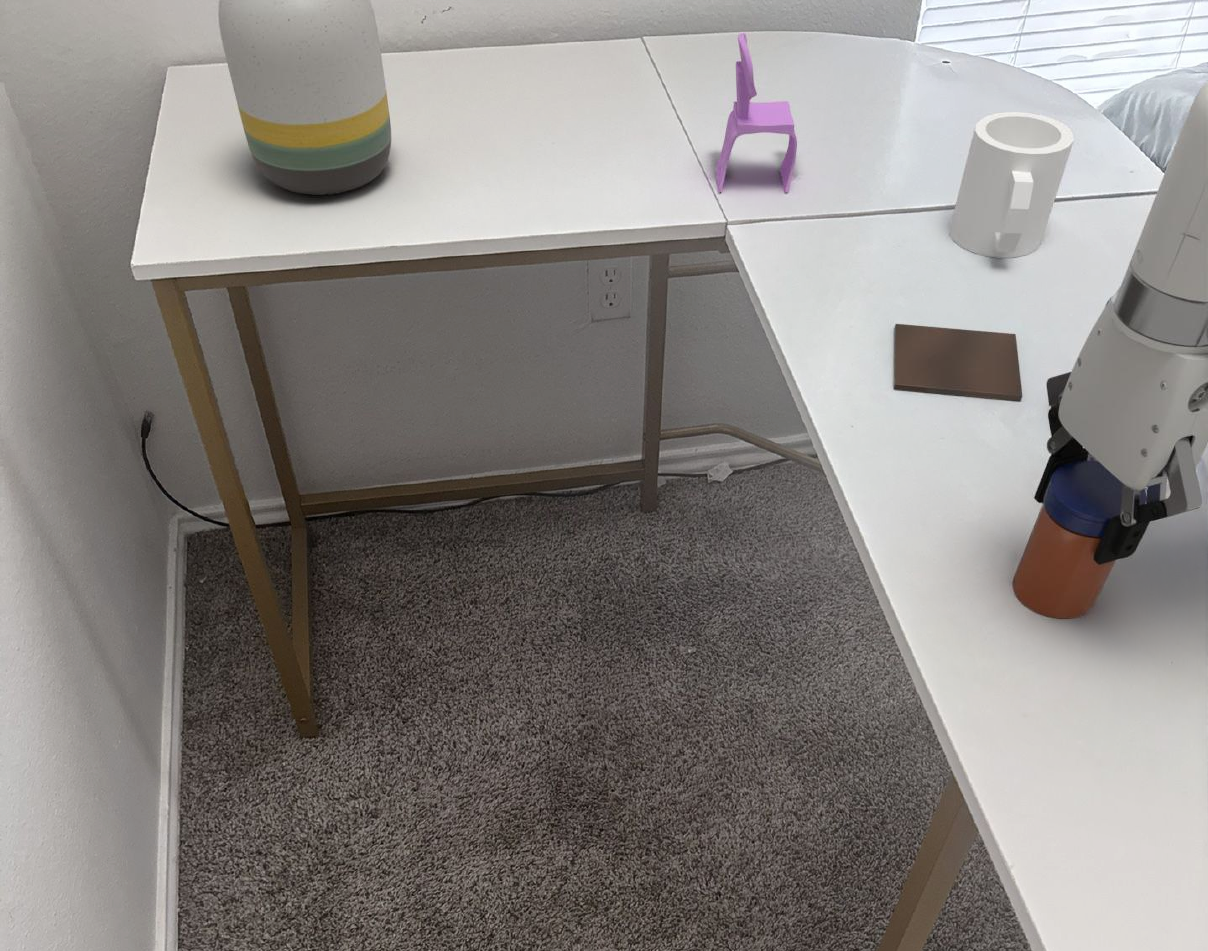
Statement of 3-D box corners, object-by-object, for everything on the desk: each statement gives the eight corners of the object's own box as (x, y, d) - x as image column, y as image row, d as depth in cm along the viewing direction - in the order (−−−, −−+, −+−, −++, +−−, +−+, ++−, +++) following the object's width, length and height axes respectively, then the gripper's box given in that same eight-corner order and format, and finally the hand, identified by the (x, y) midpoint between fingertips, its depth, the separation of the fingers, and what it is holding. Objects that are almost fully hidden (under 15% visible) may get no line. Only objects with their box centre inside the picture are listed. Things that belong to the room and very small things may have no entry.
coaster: (1014, 339, 110) (1015, 333, 110) (1020, 401, 104) (1022, 395, 103) (894, 328, 111) (895, 323, 111) (893, 389, 105) (894, 384, 104)
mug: (1052, 275, 118) (1087, 170, 109) (957, 271, 118) (984, 166, 110) (1034, 215, 126) (1065, 113, 117) (944, 211, 126) (969, 110, 118)
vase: (296, 223, 125) (239, -31, 105) (233, 169, 133) (170, -76, 114) (423, 182, 131) (392, -65, 111) (356, 133, 139) (315, -105, 120)
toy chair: (793, 196, 128) (812, 50, 116) (718, 197, 128) (730, 50, 116) (785, 165, 133) (803, 21, 121) (714, 165, 133) (724, 22, 121)
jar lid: (1123, 478, 83) (1132, 459, 82) (1151, 537, 79) (1160, 518, 78) (1033, 479, 83) (1040, 460, 82) (1056, 537, 79) (1064, 519, 78)
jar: (1091, 567, 90) (1136, 471, 82) (1100, 623, 86) (1147, 527, 78) (1009, 559, 90) (1046, 463, 83) (1014, 613, 86) (1053, 518, 79)
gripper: (1327, 361, 65) (1196, 588, 79) (1143, 228, 74) (1056, 451, 89) (1225, 386, 63) (1109, 613, 77) (1050, 247, 73) (976, 472, 87)
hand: (1081, 525), depth 83 cm, fingers closed on jar lid, 6 cm apart
